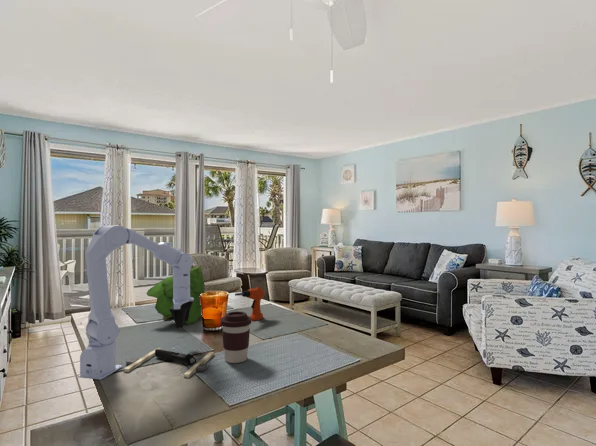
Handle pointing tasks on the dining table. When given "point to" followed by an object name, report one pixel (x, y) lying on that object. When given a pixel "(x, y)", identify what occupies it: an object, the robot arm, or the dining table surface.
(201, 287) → the decorative tree
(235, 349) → the coffee cup
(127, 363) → the joist track
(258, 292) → the toy drill
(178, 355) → the black flashlight
